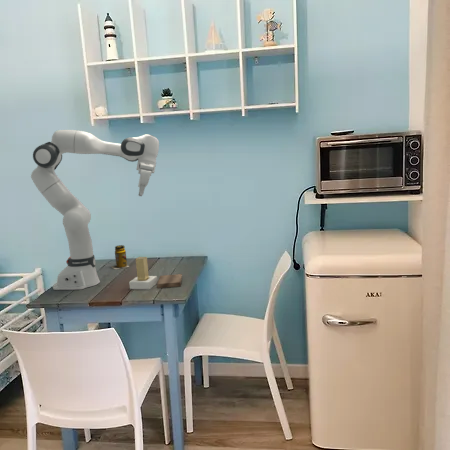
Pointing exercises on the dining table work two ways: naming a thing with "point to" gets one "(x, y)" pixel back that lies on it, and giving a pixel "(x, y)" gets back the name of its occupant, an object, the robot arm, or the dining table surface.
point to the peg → (142, 268)
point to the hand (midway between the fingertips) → (140, 195)
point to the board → (169, 281)
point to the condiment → (120, 257)
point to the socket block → (143, 283)
